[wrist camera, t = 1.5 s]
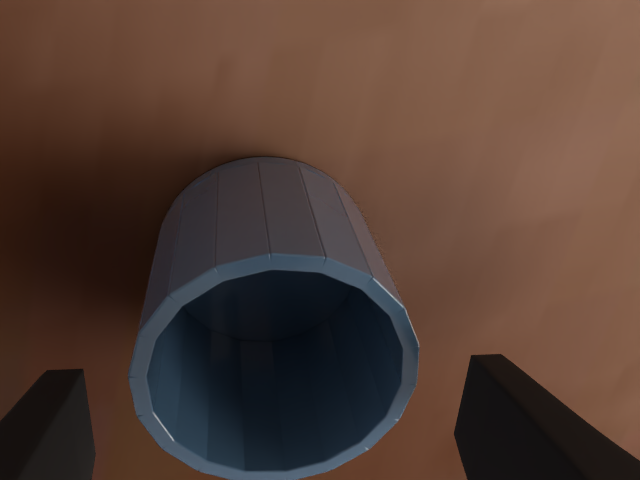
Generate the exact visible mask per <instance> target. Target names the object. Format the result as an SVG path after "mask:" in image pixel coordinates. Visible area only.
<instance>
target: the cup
mask: <svg viewBox="0 0 640 480" xmlns="http://www.w3.org/2000/svg"><path fill="white" fill-rule="evenodd" d="M419 348H420V346H419V341H418V339H417V336H416V334H415V331H414V328H413V326H412V323H411V321H410V318H409V316H408V313H407V311H406V308H405V306H404V304H403V302H402V300H401V297H400V295H399V293H398V291H397V289H396V287H395V285H394V283H393V280H392V278H391V276H390V274H389V272H388V270H387V268H386V265H385V263H384V261H383V259H382V257H381V255H380V253H379V251H378V248H377V246H376V244H375V242H374V240H373V238H372V236H371V234H370V231H369V229H368V227H367V225H366V223H365V221H364V219H363V217H362V214H361V212H360V210H359V209H358V207H357V206H356V205H355V203H354V202H353V200H352V198H351V197H350V196H349V195H348V193H347V192H346V191H345V190H344V189H343V188H342V187H341V186H340V185H339V184H338V183H337V182H336V181H335V180H334V179H332V178H331V177H329V176H328V175H326V174H325V173H323V172H322V171H320V170H318V169H316V168H314V167H312V166H310V165H307V164H304V163H301V162H298V161H295V160H290V159H285V158H277V157H252V158H246V159H240V160H236V161H232V162H229V163H226V164H223V165H221V166H218V167H216V168H214V169H212V170H210V171H208V172H206V173H205V174H203V175H201V176H200V177H198V178H197V179H196V180H194V181H193V182H192V183H191V184H189V185H188V186H187V187H186V188H185V189H184V190H183V191H182V192H181V193H180V194H179V195H178V197H177V198H176V199H175V201H174V202H173V204H172V205H171V206H170V208H169V210H168V212H167V214H166V216H165V218H164V220H163V223H162V225H161V228H160V232H159V236H158V241H157V245H156V249H155V253H154V257H153V262H152V266H151V271H150V275H149V280H148V284H147V289H146V294H145V298H144V303H143V307H142V312H141V316H140V321H139V325H138V330H137V334H136V339H135V343H134V348H133V353H132V357H131V362H130V366H129V371H128V380H129V385H130V390H131V394H132V399H133V403H134V408H135V412H136V415H137V417H138V419H139V420H140V421H141V423H142V424H143V425H144V427H145V428H146V429H147V431H148V432H149V433H150V435H151V436H152V437H153V438H154V440H155V441H156V442H157V444H158V445H159V446H160V448H162V449H163V450H164V451H166V452H167V453H169V454H171V455H172V456H174V457H175V458H177V459H179V460H180V461H182V462H184V463H185V464H187V465H188V466H190V467H192V468H193V469H195V470H198V471H199V472H202V473H206V474H210V475H214V476H218V477H222V478H226V479H229V480H297V479H301V478H305V477H309V476H312V475H316V474H320V473H324V472H328V471H330V470H333V469H335V468H337V467H338V466H340V465H342V464H344V463H346V462H348V461H349V460H351V459H353V458H355V457H357V456H359V455H360V454H362V453H364V452H366V451H368V449H370V448H371V447H372V446H373V445H374V444H375V443H376V442H377V441H379V440H380V439H381V438H382V437H383V436H384V435H385V434H386V433H387V432H388V431H389V430H390V429H391V428H392V427H393V426H394V425H395V424H396V423H397V422H398V420H399V419H400V417H401V415H402V413H403V411H404V409H405V407H406V405H407V403H408V401H409V399H410V397H411V395H412V393H413V391H414V389H415V387H416V384H417V378H418V363H419Z"/></svg>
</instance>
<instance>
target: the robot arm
mask: <svg viewBox="0 0 640 480" xmlns="http://www.w3.org/2000/svg"><path fill="white" fill-rule="evenodd" d="M454 436H455V439H456V443H457V446H458V450H459V453H460V457H461V460H462V463H463V467H464V470H465V473H466V476H467V479H468V480H640V461H639V460H638V459H636V458H635V457H633V456H632V455H631V454H629V453H628V452H626V451H625V450H624V449H622V448H621V447H619V446H618V445H617V444H615V443H614V442H612V441H611V440H610V439H608V438H607V437H606V436H604V435H603V434H602V433H600V432H599V431H598V430H596V429H595V428H594V427H593V426H591V425H590V424H589V423H587V422H586V421H585V420H583V419H582V418H581V417H580V416H578V415H577V414H576V413H575V412H573V411H572V410H571V409H569V408H568V407H567V406H566V405H564V404H563V403H562V402H561V401H559V400H558V399H557V398H556V397H554V396H553V395H552V394H551V393H550V392H548V391H547V390H546V389H545V388H543V387H542V386H541V385H540V384H538V383H537V382H536V381H535V380H534V379H532V378H531V377H530V376H529V375H527V374H526V373H525V372H524V371H522V370H521V369H520V368H519V367H517V366H516V365H515V364H513V363H512V362H511V361H510V360H508V359H507V358H506V357H504V356H503V355H501V354H491V355H471V359H470V363H469V368H468V372H467V377H466V381H465V386H464V390H463V395H462V399H461V404H460V408H459V413H458V417H457V422H456V426H455V431H454ZM95 454H96V453H95V446H94V439H93V432H92V426H91V419H90V412H89V405H88V398H87V392H86V385H85V378H84V371H83V369H68V370H47V371H46V372H45V373H43V374H42V375H41V376H40V377H39V379H38V380H37V381H36V382H35V383H34V384H33V385H32V386H31V387H30V389H29V390H28V391H27V392H26V393H25V394H24V395H23V397H22V398H21V399H20V400H19V401H18V402H17V403H16V404H15V406H14V407H13V408H12V409H11V410H10V411H9V412H8V413H7V414H6V416H5V417H4V418H3V419H2V420H1V421H0V480H91V479H92V473H93V467H94V461H95Z"/></svg>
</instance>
